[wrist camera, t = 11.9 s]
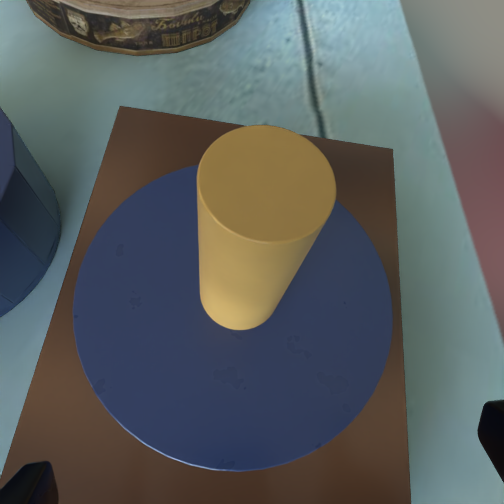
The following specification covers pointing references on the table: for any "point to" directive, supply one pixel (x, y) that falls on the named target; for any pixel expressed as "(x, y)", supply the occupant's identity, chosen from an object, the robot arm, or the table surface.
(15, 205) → the tin
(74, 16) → the brown flat disc
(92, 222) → the block
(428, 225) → the table surface
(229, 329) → the lid
